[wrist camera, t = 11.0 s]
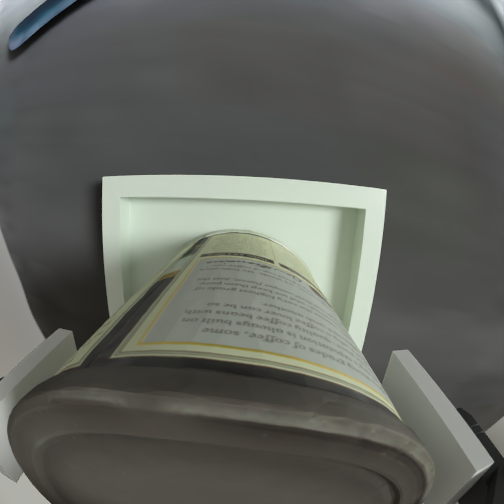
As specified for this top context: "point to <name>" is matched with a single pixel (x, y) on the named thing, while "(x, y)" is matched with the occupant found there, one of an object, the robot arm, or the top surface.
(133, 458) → the coffee can
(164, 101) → the top surface
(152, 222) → the tray
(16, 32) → the knife
